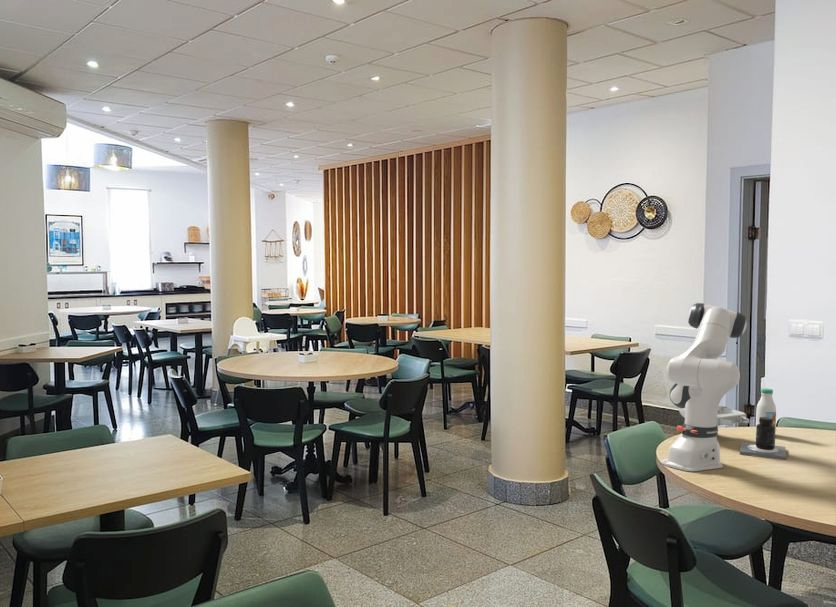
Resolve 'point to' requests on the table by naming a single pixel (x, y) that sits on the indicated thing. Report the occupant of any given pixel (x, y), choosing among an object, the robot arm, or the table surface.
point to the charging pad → (762, 451)
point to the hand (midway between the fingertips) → (739, 422)
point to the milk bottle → (766, 406)
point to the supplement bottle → (765, 434)
